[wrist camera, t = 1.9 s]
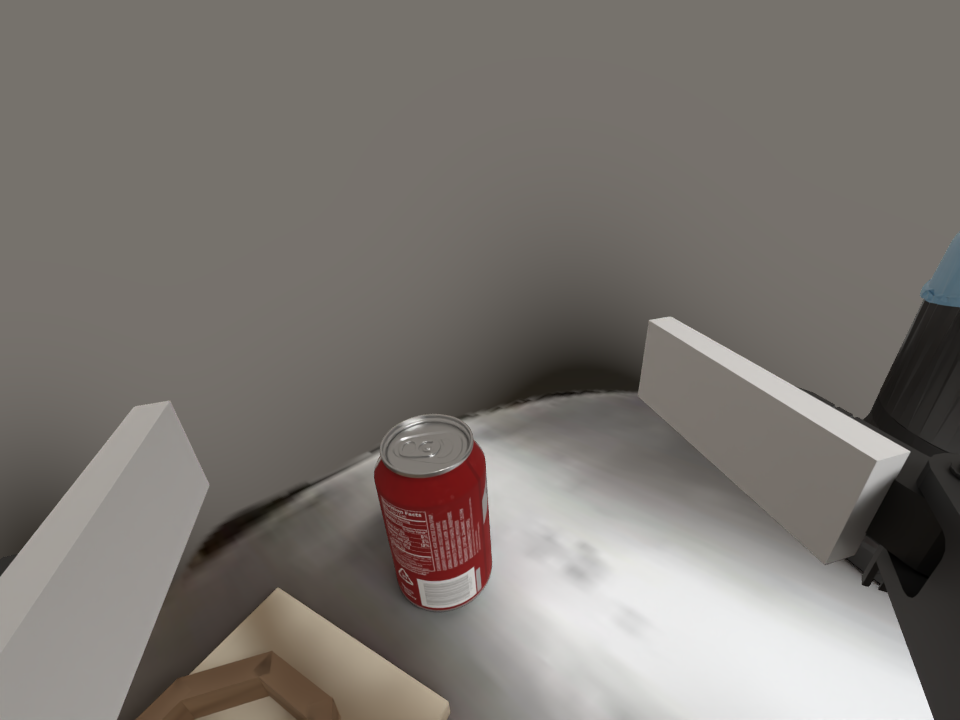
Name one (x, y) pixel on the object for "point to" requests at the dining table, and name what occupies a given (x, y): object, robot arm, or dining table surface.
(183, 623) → the dining table surface
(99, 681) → the robot arm
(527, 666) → the dining table surface
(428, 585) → the soda can
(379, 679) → the ring board
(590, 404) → the dining table surface
